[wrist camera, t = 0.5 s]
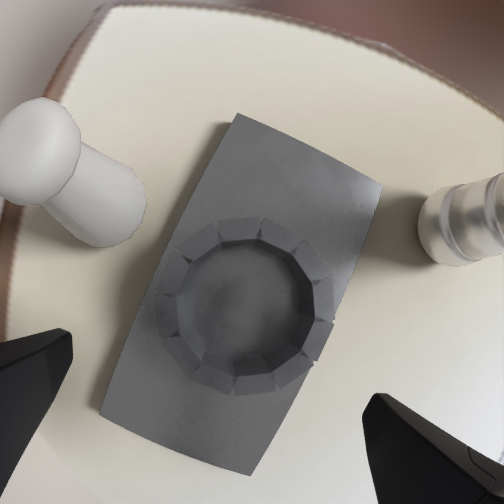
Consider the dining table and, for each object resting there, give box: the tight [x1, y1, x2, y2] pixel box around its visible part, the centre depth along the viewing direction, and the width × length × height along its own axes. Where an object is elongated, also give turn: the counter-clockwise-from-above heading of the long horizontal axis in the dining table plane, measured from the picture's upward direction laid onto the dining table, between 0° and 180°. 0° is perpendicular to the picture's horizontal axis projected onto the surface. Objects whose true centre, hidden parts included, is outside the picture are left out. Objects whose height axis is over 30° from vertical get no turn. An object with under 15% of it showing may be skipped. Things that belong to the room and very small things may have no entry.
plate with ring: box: [99, 113, 383, 476], centre depth 19 cm, size 24×12×4 cm, turn 155°
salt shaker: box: [0, 97, 147, 247], centre depth 15 cm, size 6×6×13 cm
